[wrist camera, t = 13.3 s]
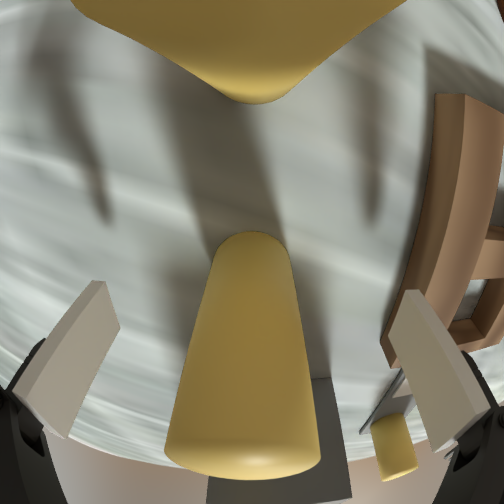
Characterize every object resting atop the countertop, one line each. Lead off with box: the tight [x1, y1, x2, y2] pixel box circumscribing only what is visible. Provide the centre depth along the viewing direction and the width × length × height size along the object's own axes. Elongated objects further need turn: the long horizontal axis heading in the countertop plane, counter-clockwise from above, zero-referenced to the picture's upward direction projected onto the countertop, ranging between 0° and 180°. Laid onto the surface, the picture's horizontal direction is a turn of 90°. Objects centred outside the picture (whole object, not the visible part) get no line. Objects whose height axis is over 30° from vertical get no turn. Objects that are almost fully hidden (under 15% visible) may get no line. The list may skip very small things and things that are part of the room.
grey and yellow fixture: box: [359, 369, 419, 481], centre depth 18 cm, size 5×13×7 cm, turn 179°
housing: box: [206, 378, 352, 504], centre depth 18 cm, size 8×16×10 cm, turn 179°
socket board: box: [380, 94, 504, 369], centre depth 12 cm, size 12×16×2 cm
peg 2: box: [164, 231, 321, 480], centre depth 10 cm, size 4×4×10 cm
